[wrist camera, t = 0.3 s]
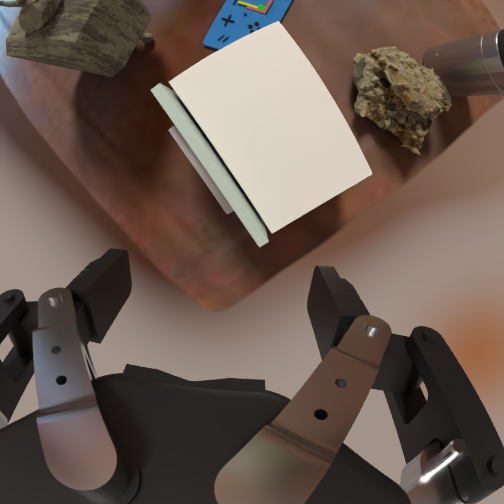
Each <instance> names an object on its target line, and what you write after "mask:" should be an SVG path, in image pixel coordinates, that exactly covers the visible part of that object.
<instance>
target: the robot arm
mask: <svg viewBox="0 0 504 504" xmlns="http://www.w3.org/2000/svg"><path fill="white" fill-rule="evenodd" d="M423 64H424V65H425V67H426V68H428V69H430V70H431V69H432V68H433V72H435V73H436V74H437V75H438V76H440V77H439V78H440V79H439V80H440V81H441V82H442V83H443V84H444V86H445V87H446V89H447V91H448V94H449V96H450V97H454V96H504V29H503V30H498V31H492V32H487V33H483V34H479V35H475V36H470V37H466V38H462V39H459V40H455V41H451V42H448V43H444V44H441V45H438V46H435V47H432V48H429V49H428V50H427V51H426V52H425V54H424V59H423ZM131 287H132V281H131V273H130V264H129V255H128V252H127V250H123V249H112V248H111V249H109V250H108V251H107V252H106V253H105V254H104V255H103V256H102V257H101V258H99V259H97V260H95V261H93V262H91V263H90V264H89V265H88V266H87V267H86V268H85V269H84V270H83V271H81V273H80V274H79V275H78V276H77V277H76V278H75V279H74V280H73V281H72V282H71V283H70V284H69V285H68V286H67V287H66V288H54V289H50V290H48V291H47V292H45V293H43V294H42V295H41V296H40V298H39V301H34V302H26V300H25V297H24V294H23V292H22V291H21V290H18V289H13V290H9V291H6V292H4V293H2V294H1V295H0V344H1V342H2V341H3V340H4V339H5V337H6V336H7V335H9V337H10V339H11V341H12V343H13V345H14V347H13V348H12V349H11V351H10V352H9V354H8V355H7V357H6V358H5V359H4V361H3V362H1V360H0V504H475V503H477V502H479V501H481V500H482V499H484V498H485V497H487V496H489V495H490V494H492V493H493V492H495V491H496V490H498V489H499V488H501V487H502V486H503V485H504V447H503V444H502V442H501V440H500V438H499V436H498V434H497V431H496V429H495V427H494V425H493V423H492V421H491V419H490V417H489V415H488V413H487V411H486V409H485V407H484V405H483V403H482V402H481V400H480V398H479V396H478V394H477V392H476V391H475V389H474V387H473V385H472V384H471V382H470V380H469V378H468V377H467V375H466V373H465V372H464V370H463V368H462V367H461V365H460V364H459V362H458V361H457V359H456V357H455V356H454V354H453V352H452V351H451V349H450V348H449V346H448V345H447V344H446V342H445V340H444V339H443V337H442V336H441V335H440V334H439V333H438V332H437V331H435V330H433V329H431V328H428V327H425V326H418V327H416V328H414V329H413V331H412V333H411V335H410V337H407V336H402V335H397V334H392V332H391V328H390V326H389V325H388V324H387V323H386V322H385V321H384V320H382V319H380V318H378V317H375V316H371V315H370V314H369V312H368V310H367V309H366V307H365V305H364V303H363V302H362V300H361V299H360V297H359V295H358V294H357V292H356V290H355V288H354V287H353V285H351V284H350V283H349V282H348V281H346V280H345V279H341V278H340V277H339V275H338V273H337V272H336V270H335V268H334V267H330V266H316V267H315V269H314V272H313V278H312V282H311V286H310V291H309V295H308V301H307V309H308V314H309V317H310V320H311V324H312V327H313V331H314V334H315V338H316V341H317V344H318V348H319V351H320V355H321V358H322V361H321V363H320V364H319V365H318V367H317V368H316V369H315V371H314V372H313V373H312V375H311V376H310V377H309V379H308V380H307V381H306V383H305V384H304V385H303V386H302V388H301V389H300V390H299V391H298V392H297V394H296V395H295V396H294V397H293V399H292V400H290V399H289V398H287V397H285V396H282V395H280V394H277V393H274V392H272V391H268V390H265V380H255V379H237V378H225V379H216V380H205V381H188V380H185V379H182V378H180V377H177V376H174V375H171V374H169V373H166V372H163V371H161V370H158V369H152V368H146V367H140V366H135V365H130V364H127V365H126V367H125V369H124V372H123V373H118V374H110V375H105V376H102V377H97V374H96V371H95V368H94V365H93V362H92V359H91V355H90V352H89V349H88V346H87V344H88V342H89V341H91V342H95V343H101V342H102V340H103V338H104V336H105V335H106V333H107V331H108V330H109V328H110V326H111V325H112V323H113V321H114V320H115V318H116V316H117V315H118V313H119V311H120V310H121V308H122V307H123V305H124V304H125V302H126V300H127V299H128V297H129V295H130V293H131ZM34 372H35V381H36V389H37V396H38V404H39V409H38V410H36V411H34V412H32V413H31V414H29V415H27V416H25V417H23V418H21V419H19V420H17V421H15V422H13V423H11V424H9V425H8V422H9V420H10V418H11V416H12V414H13V412H14V410H15V408H16V406H17V404H18V402H19V400H20V398H21V396H22V394H23V392H24V390H25V388H26V386H27V385H28V383H29V381H30V379H31V377H32V376H33V374H34ZM422 382H424V384H425V386H426V388H427V391H428V400H427V401H426V399H425V397H424V394H423V392H422V390H421V388H420V384H421V383H422ZM370 389H377V390H383V391H384V394H385V396H386V399H387V402H388V405H389V408H390V411H391V414H392V418H393V420H394V424H395V427H396V430H397V433H398V437H399V440H400V443H401V447H402V450H403V454H404V457H405V461H406V466H405V467H404V469H403V471H402V474H401V483H400V485H398V484H397V483H396V482H394V481H393V480H391V479H390V478H389V477H387V476H385V475H384V474H383V473H381V472H380V471H379V470H378V469H376V468H375V467H373V466H372V465H371V464H370V463H368V462H367V461H366V460H364V459H363V458H362V457H360V456H359V455H358V454H357V453H355V452H354V451H353V450H351V449H350V448H349V447H348V446H347V445H345V444H344V443H343V441H344V440H345V438H346V436H347V434H348V433H349V431H350V429H351V427H352V425H353V424H354V422H355V420H356V418H357V416H358V414H359V412H360V410H361V408H362V406H363V404H364V402H365V400H366V398H367V396H368V393H369V391H370Z"/></svg>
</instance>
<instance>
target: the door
mask: <svg viewBox="0 0 504 504" xmlns="http://www.w3.org/2000/svg"><path fill="white" fill-rule="evenodd" d="M151 91H152V93H153V94H154V96H155V97H156V99H157V100H158V101H159V103H160V104H161V106H162V107H163V109H164V110H165V111H166V113H167V114H168V116H169V117H170V118H171V120H172V121H173V123H174V124H175V125H174V126H173V127H171V128H170V129H169V130H168V131H169V132H170V133H171V135H172V136H173V138H174V139H175V141H176V142H177V143H178V145H179V146H180V148H181V149H182V151H183V152H184V153H185V155H186V156H187V158H188V159H189V161H190V162H191V164H192V165H193V166H194V168H195V169H196V171H197V172H198V174H199V175H200V176H201V178H202V179H203V181H204V182H205V184H206V185H207V187H208V188H209V189H210V191H211V192H212V194H213V195H214V197H215V198H216V199H217V201H218V202H219V204H220V205H221V207H222V208H223V210H224V211H225V212H226V214H229V213H231V212H233V211H235V212H236V214H237V215H238V217H239V218H240V220H241V221H242V223H243V224H244V226H245V227H246V229H247V230H248V231H249V233H250V234H251V236H252V237H253V239H254V240H255V242H256V243H257V245H258V246H259V247H261V246H263V245H264V244H266V243H268V242H269V241H268V237H267V233H266V229H265V225H264V221H263V219H262V217H261V216H260V214H259V213H258V211H257V210H256V208H255V207H254V205H253V204H252V202H251V201H250V199H249V198H248V196H247V195H246V193H245V192H244V190H243V189H242V187H241V186H240V184H239V183H238V181H237V180H236V178H235V177H234V175H233V174H232V172H231V171H230V169H229V168H228V166H227V165H226V163H225V162H224V160H223V159H222V157H221V156H220V155H219V153H218V152H217V150H216V149H215V147H214V146H213V144H212V143H211V141H210V140H209V138H208V137H207V136H206V134H205V133H204V131H203V130H202V128H201V127H200V125H199V124H198V123H197V121H196V120H195V118H194V117H193V115H192V114H191V113H190V111H189V110H188V108H187V107H186V106H185V104H184V103H183V101H182V100H181V99H180V97H179V96H178V94H177V93H175V92H174V91H172V90H170V89H169V88H167V87H166V86H164V85H162V84H161V83H159V84H158V85H156V86H155V87H154V88H152V89H151Z"/></svg>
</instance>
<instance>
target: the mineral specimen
mask: <svg viewBox="0 0 504 504" xmlns="http://www.w3.org/2000/svg"><path fill="white" fill-rule="evenodd" d="M408 56H409V54H406V53H405V52H401V51H399V50H398V49H397V48H396V46H394V47H381V48H378V49H374V50H372V51H371V53H369V54H366V55H365V54H361V53H358V54H357V55H356V56H355V58H354V67H353V81H354V84H355V86H356V88H357V89H358V90H359V93H358V95H357V101H356V102H355V104H354V110H355V113H356V114H358V115H361V116H362V117H367V118H369V119H371V120H373V121H374V122H375V123H376V124H377V125H378V126H379V127H380V128H382V129H384V130H387V131H390V132H391V133H392V134H394V135H396V136H397V137H398V138H399V139H400V140H401V141H400V142H402V143H403V144H402V145H401V147H406V148H407V149H409V150H411V151H412V153H414V154H415V153H416V154H419V155H420V153H419V149H421V148H422V147H423V141H424V137H425V135H426V134H427V132H428V130H429V128H430V126H431V124H432V122H433V120H434V119H435V118H436V117H437V116H438V115H439V114H441V112H443V111H444V110H446V111H447V112H448V111H449V109H450V107H451V106H452V100H451V97H450V96H449V94H448V91H447V89H446V87H445V86H444V84H443V83H442V82H441V81H440V80H439V79H440V78H439V77H440V76H438V75H437V74H436V73H435V72H433V68H432V69H431V70H430V69H428V68H426V67H425V65H422V64H420V63H419V62H418V61H417V60H415V59H413V58H410V57H408Z"/></svg>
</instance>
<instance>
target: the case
mask: <svg viewBox="0 0 504 504" xmlns="http://www.w3.org/2000/svg"><path fill="white" fill-rule="evenodd" d="M169 83H170V85H171V86H172V87H173V89H174V90H175V92H176V93H177V94H178V96H179V97H180V99H181V100H182V101H183V103H184V104H185V106H186V107H187V108H188V110H189V111H190V113H191V114H192V115H193V117H194V118H195V120H196V121H197V123H198V124H199V125H200V127H201V128H202V130H203V131H204V133H205V134H206V136H207V137H208V138H209V140H210V141H211V143H212V144H213V146H214V147H215V149H216V150H217V152H218V153H219V155H220V156H221V157H222V159H223V160H224V162H225V163H226V165H227V166H228V168H229V169H230V171H231V172H232V174H233V175H234V177H235V178H236V180H237V181H238V183H239V184H240V186H241V187H242V189H243V190H244V192H245V193H246V195H247V196H248V198H249V199H250V201H251V202H252V204H253V205H254V207H255V208H256V210H257V211H258V213H259V214H260V216H261V217H262V219H263V221H264V222H265V224H266V225H267V227H268V228H269V230H270V231H271V233H274V232H276V231H277V230H279V229H281V228H282V227H284V226H286V225H287V224H289V223H291V222H292V221H294V220H296V219H297V218H299V217H301V216H302V215H304V214H306V213H307V212H309V211H311V210H312V209H314V208H316V207H317V206H319V205H321V204H323V203H324V202H326V201H328V200H329V199H331V198H333V197H334V196H336V195H338V194H339V193H341V192H343V191H344V190H346V189H348V188H349V187H351V186H353V185H355V184H356V183H358V182H360V181H361V180H363V179H365V178H366V177H368V176H370V175H371V174H372V172H371V170H370V167H369V165H368V163H367V161H366V159H365V157H364V155H363V153H362V151H361V149H360V147H359V145H358V143H357V141H356V139H355V137H354V135H353V133H352V131H351V129H350V128H349V126H348V124H347V122H346V120H345V119H344V117H343V115H342V113H341V111H340V110H339V108H338V106H337V105H336V103H335V101H334V100H333V98H332V96H331V95H330V93H329V91H328V90H327V88H326V87H325V85H324V83H323V82H322V80H321V79H320V77H319V76H318V74H317V73H316V71H315V70H314V68H313V67H312V65H311V64H310V62H309V61H308V59H307V58H306V57H305V55H304V54H303V52H302V51H301V50H300V48H299V47H298V45H297V44H296V43H295V41H294V40H293V39H292V37H291V36H290V35H289V34H288V32H287V31H286V30H285V28H284V27H283V26H282V25H281V23H280V22H279V21H277V22H275V23H272V24H270V25H268V26H266V27H263V28H261V29H259V30H257V31H255V32H253V33H251V34H249V35H246V36H244V37H243V38H241V39H239V40H237V41H235V42H233V43H231V44H229V45H227V46H225V47H224V48H222V49H220V50H218V51H217V52H215V53H213V54H211V55H210V56H208V57H206V58H205V59H203V60H201V61H200V62H198V63H197V64H195V65H193V66H192V67H190V68H189V69H187V70H186V71H184V72H183V73H181V74H180V75H178V76H177V77H175V78H174V79H172V80H171V81H169Z"/></svg>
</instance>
